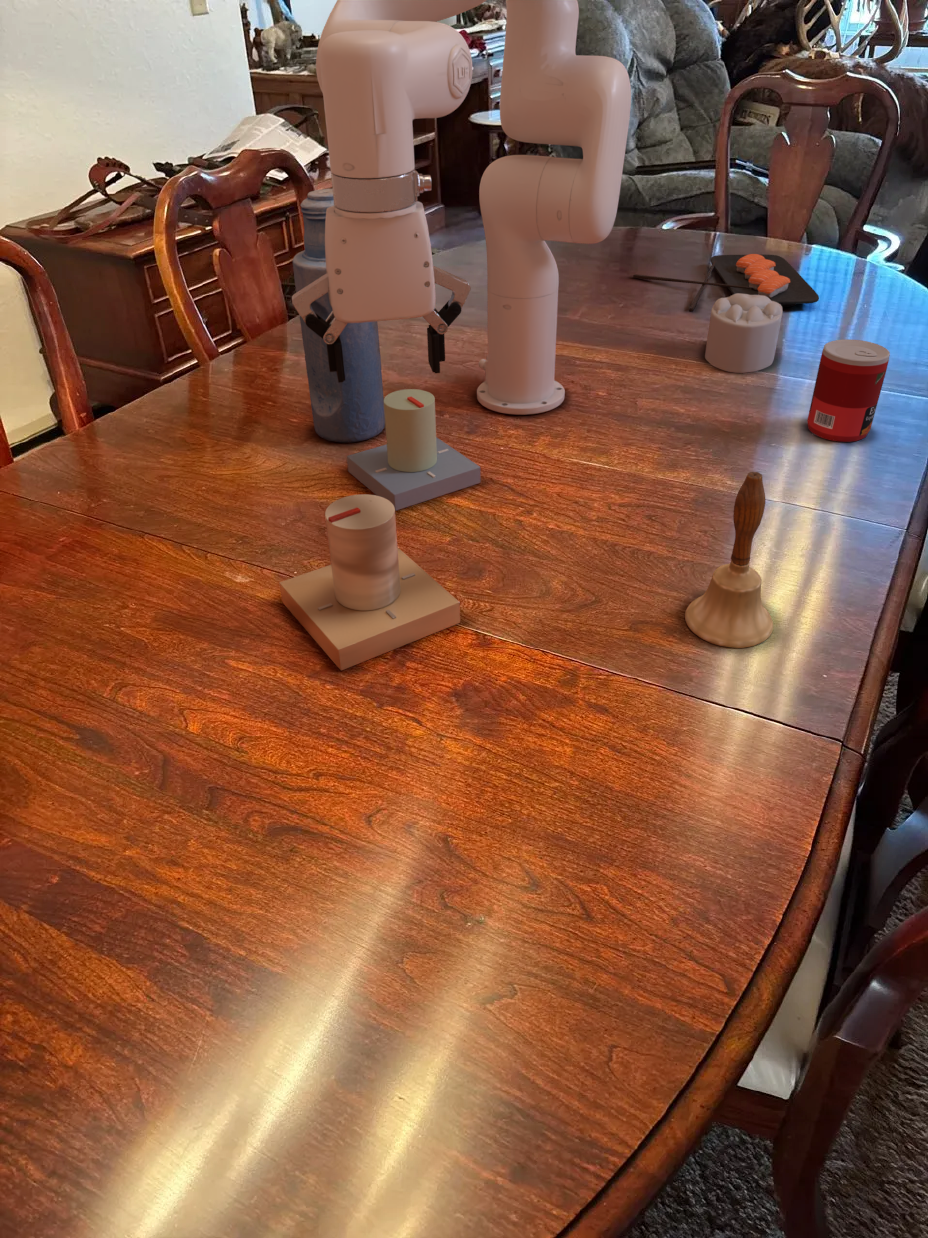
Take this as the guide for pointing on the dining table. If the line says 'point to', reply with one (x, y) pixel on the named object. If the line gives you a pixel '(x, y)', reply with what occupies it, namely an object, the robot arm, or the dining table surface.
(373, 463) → the blue-grey dial base
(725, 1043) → the dining table surface
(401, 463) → the green dial knob
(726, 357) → the lumpy-topped squat cylinder
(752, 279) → the sushi plate
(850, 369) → the canned food
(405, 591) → the birch turntable
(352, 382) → the bottle
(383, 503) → the beige banded cylinder
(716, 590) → the hand bell
